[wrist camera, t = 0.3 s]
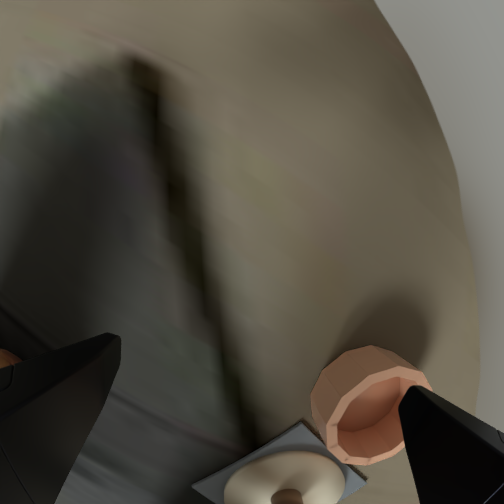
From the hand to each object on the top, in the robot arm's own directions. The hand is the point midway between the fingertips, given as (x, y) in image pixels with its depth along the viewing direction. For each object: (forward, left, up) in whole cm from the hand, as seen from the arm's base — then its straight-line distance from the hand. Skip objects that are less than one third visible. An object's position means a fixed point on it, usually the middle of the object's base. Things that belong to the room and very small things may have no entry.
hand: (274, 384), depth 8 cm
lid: (-10, -18, -15) cm, 26 cm away
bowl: (+2, -13, -15) cm, 20 cm away
